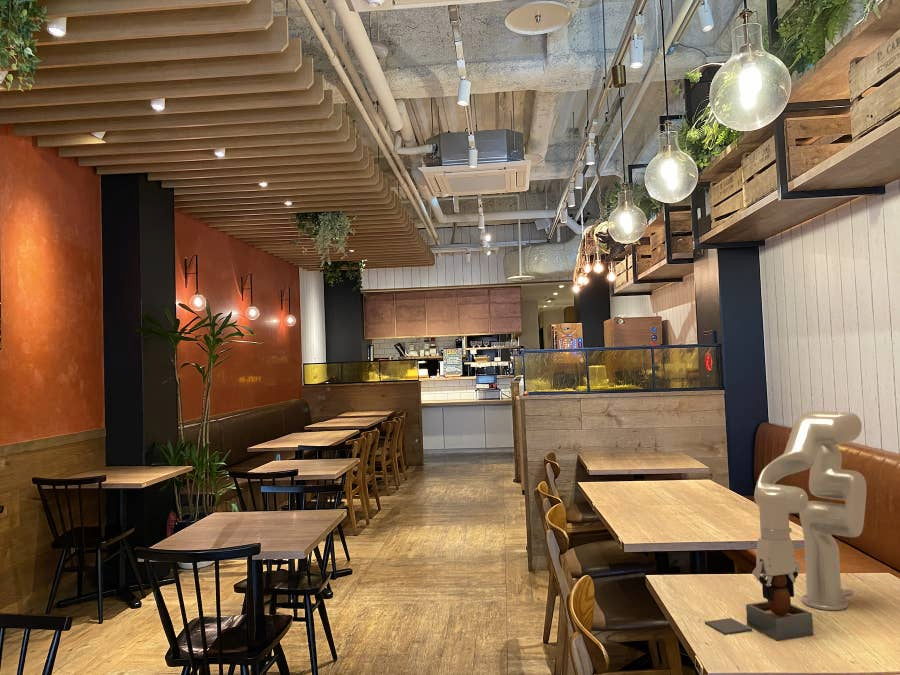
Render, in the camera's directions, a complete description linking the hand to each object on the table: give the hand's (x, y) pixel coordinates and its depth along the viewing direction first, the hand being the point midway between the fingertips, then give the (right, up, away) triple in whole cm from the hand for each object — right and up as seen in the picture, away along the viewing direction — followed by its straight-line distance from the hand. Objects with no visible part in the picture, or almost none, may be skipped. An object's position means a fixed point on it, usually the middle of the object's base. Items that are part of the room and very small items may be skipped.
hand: (778, 596), depth 195 cm
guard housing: (0, -9, -1) cm, 9 cm away
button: (0, -6, -1) cm, 6 cm away
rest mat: (-13, -10, +2) cm, 17 cm away
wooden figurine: (0, -5, 0) cm, 5 cm away
